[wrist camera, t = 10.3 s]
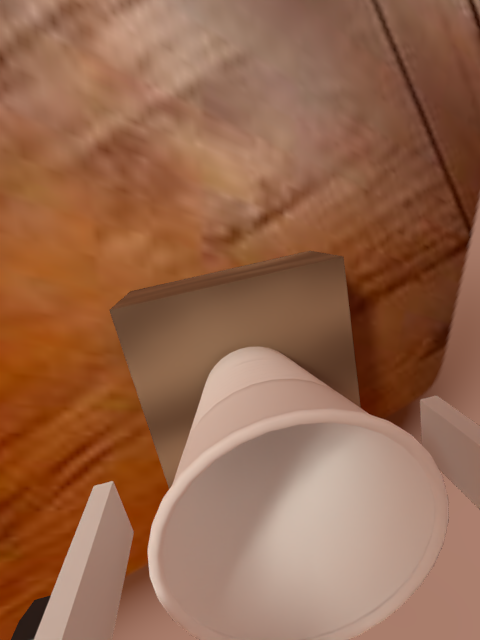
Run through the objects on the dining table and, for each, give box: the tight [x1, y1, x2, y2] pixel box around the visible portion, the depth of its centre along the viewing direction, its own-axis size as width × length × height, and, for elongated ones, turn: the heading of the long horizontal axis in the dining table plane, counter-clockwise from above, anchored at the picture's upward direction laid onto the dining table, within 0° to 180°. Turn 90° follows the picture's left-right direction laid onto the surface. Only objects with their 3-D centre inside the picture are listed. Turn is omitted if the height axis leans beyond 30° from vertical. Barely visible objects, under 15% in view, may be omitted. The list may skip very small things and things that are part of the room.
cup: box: [148, 346, 449, 640], centre depth 16 cm, size 10×10×11 cm
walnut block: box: [110, 251, 361, 489], centre depth 24 cm, size 14×14×6 cm
